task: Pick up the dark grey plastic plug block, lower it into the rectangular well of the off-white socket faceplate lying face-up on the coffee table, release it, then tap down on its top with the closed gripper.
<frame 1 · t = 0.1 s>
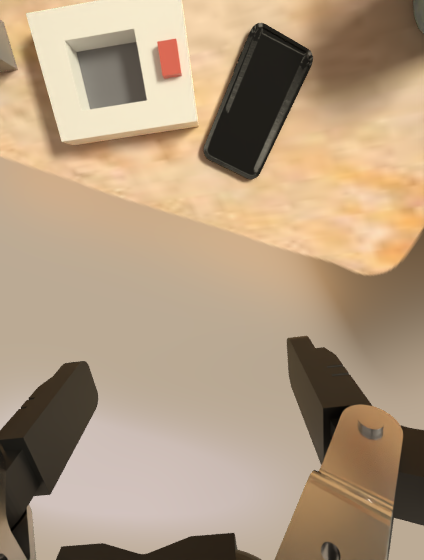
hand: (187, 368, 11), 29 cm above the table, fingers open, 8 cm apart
phone: (253, 109, 34), on the table
socket plate: (124, 80, 33), on the table
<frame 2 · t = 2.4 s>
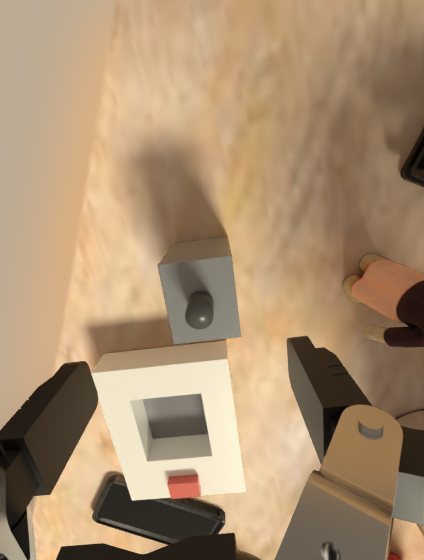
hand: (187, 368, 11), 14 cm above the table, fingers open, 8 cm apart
phone: (160, 507, 34), on the table
plug: (205, 270, 24), on the table
grandmother figurine: (368, 272, 24), on the table
socket plate: (178, 412, 29), on the table
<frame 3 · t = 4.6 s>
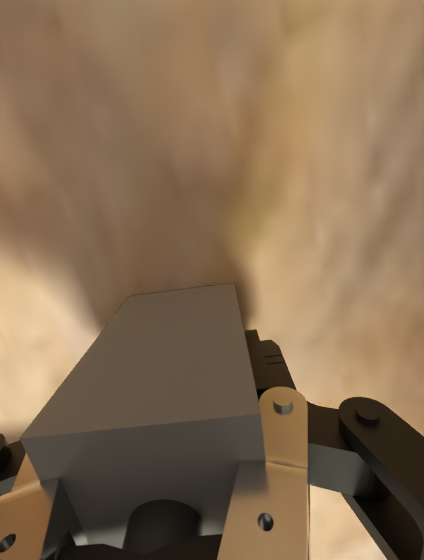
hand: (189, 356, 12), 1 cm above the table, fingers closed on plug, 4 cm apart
plug: (191, 345, 13), on the table, touching gripper
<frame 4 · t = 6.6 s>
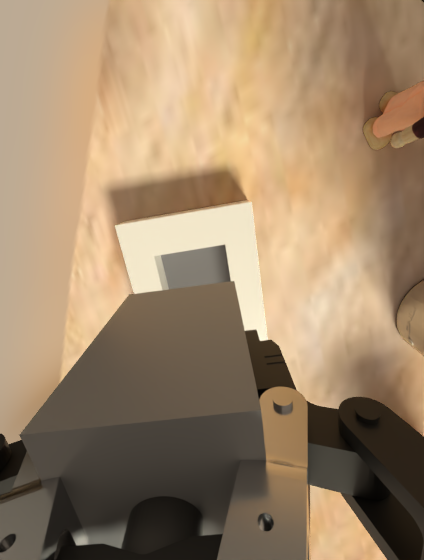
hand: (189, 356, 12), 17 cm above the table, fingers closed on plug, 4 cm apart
plug: (191, 343, 12), point 16 cm above the table, touching gripper
grandmother figurine: (388, 115, 24), on the table
socket plate: (200, 287, 29), on the table
when the fingers open (4 cm above the table, at t = 9.1 s): plug drops 2 cm, resting on socket plate.
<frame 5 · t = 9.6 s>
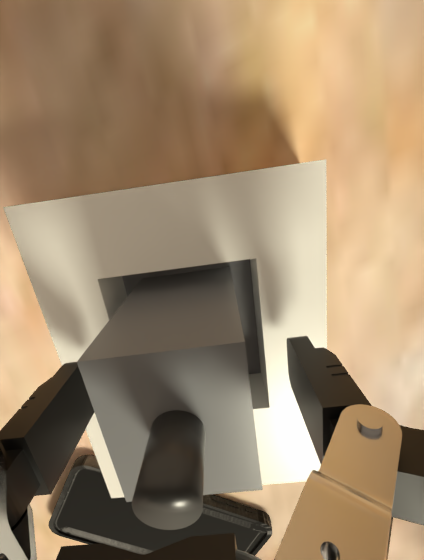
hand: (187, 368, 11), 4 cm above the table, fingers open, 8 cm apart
phone: (163, 509, 21), on the table
plug: (194, 321, 15), resting on socket plate
socket plate: (197, 334, 15), on the table
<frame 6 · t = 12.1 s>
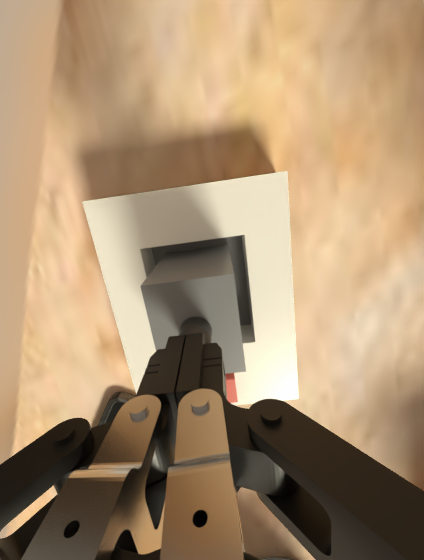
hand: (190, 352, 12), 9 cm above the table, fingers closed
phone: (177, 440, 27), on the table
plug: (202, 284, 20), resting on socket plate, touching gripper
socket plate: (204, 295, 21), on the table
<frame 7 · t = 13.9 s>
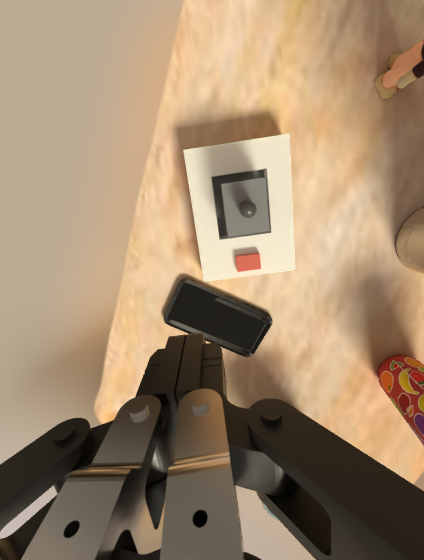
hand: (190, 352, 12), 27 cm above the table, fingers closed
phone: (218, 316, 42), on the table
plug: (240, 204, 36), resting on socket plate
smoothie: (394, 369, 44), on the table
grandmother figurine: (394, 72, 31), on the table
socket plate: (240, 211, 36), on the table
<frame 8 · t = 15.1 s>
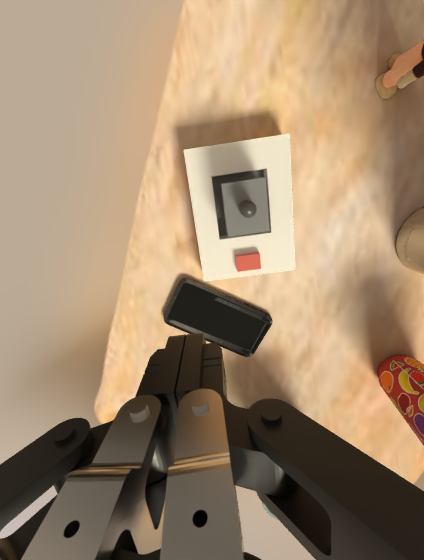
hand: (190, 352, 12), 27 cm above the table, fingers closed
phone: (218, 316, 42), on the table
plug: (240, 203, 36), resting on socket plate
smoothie: (394, 369, 44), on the table
grandmother figurine: (394, 72, 31), on the table
socket plate: (240, 211, 36), on the table
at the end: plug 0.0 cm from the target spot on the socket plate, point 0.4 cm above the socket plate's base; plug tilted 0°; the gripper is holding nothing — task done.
